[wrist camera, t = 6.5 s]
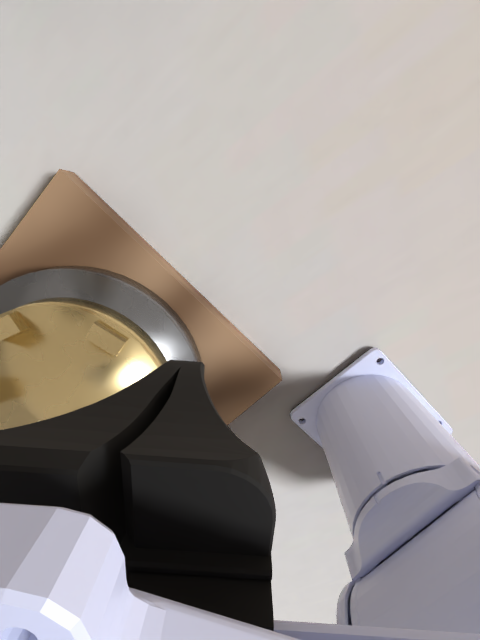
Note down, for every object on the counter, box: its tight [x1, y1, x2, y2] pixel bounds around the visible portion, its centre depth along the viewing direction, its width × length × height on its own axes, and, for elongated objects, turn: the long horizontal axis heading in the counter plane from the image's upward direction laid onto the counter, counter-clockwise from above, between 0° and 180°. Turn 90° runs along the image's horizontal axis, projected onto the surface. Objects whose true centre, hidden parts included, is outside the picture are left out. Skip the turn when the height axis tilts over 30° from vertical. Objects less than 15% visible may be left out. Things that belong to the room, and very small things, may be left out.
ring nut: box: [0, 297, 167, 430], centre depth 16 cm, size 12×12×6 cm
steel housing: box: [0, 266, 202, 362], centre depth 20 cm, size 15×15×2 cm
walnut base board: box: [0, 169, 282, 425], centre depth 22 cm, size 18×18×2 cm
